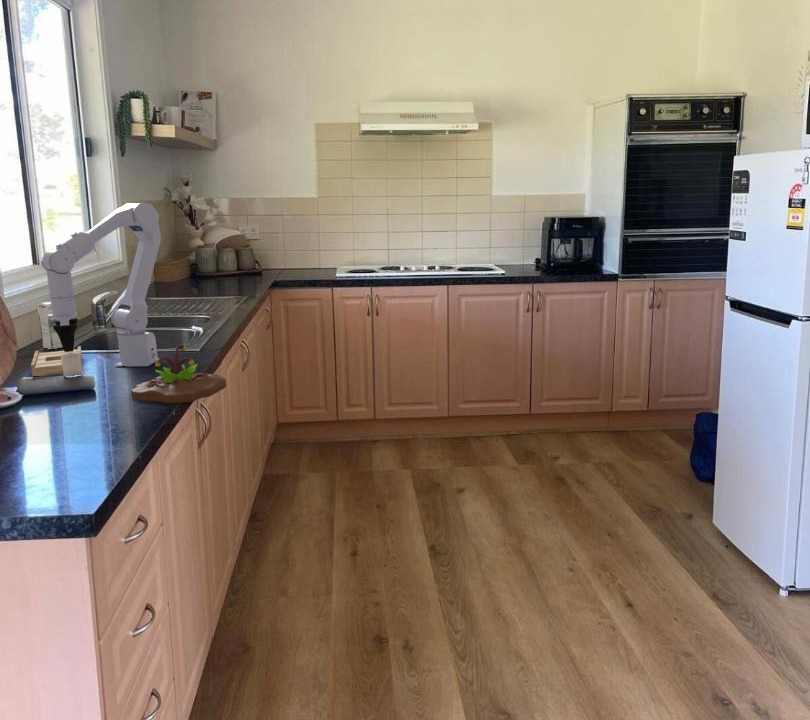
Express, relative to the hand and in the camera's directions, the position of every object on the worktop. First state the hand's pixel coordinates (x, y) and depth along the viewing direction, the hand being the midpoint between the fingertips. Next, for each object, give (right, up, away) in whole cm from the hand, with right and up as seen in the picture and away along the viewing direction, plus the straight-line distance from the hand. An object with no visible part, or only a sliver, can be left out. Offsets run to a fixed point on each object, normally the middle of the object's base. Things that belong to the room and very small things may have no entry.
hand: (69, 348), depth 200 cm
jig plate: (-9, -5, +13) cm, 17 cm away
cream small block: (0, -7, +2) cm, 7 cm away
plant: (+34, -11, -17) cm, 40 cm away
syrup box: (-21, +1, +40) cm, 45 cm away
